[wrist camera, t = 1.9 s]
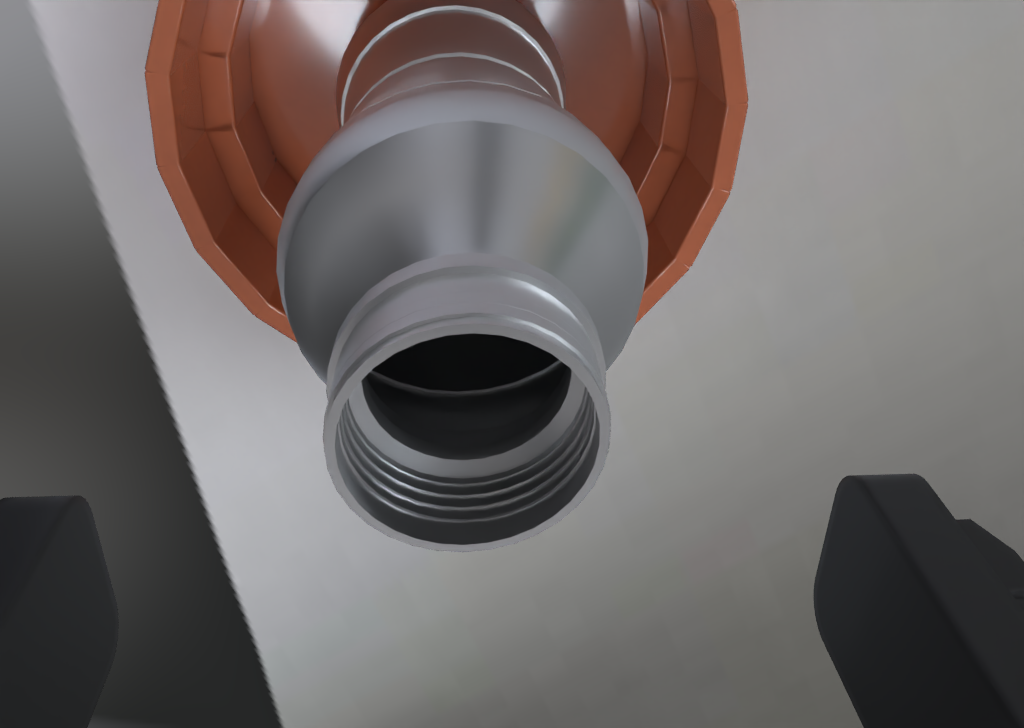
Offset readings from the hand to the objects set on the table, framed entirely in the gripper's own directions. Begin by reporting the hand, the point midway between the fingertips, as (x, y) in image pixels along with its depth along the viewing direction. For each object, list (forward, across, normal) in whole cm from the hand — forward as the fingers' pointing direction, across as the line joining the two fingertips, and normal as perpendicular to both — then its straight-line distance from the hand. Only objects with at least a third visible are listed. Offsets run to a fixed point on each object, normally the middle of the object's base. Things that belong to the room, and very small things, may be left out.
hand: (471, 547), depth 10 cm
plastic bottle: (+22, 0, 0) cm, 22 cm away
